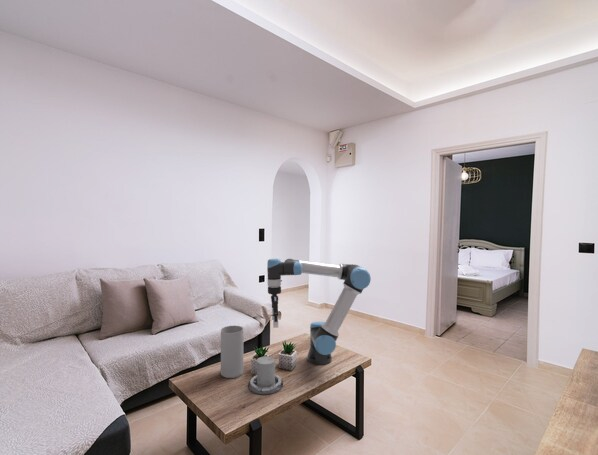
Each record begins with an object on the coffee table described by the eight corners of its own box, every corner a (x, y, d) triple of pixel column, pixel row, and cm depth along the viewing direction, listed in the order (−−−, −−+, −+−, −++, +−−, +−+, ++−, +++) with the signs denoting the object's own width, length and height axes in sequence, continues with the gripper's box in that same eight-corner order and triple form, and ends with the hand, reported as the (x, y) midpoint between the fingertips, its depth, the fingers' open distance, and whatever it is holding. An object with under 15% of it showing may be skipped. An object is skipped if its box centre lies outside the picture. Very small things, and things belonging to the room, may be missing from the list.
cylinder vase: (230, 381, 169) (230, 334, 169) (216, 374, 177) (216, 329, 176) (248, 372, 179) (248, 328, 179) (233, 366, 187) (233, 324, 186)
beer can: (273, 388, 160) (273, 364, 160) (254, 387, 161) (254, 363, 161) (276, 379, 169) (276, 356, 169) (259, 378, 171) (259, 355, 170)
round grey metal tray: (282, 376, 175) (282, 371, 175) (283, 393, 157) (283, 388, 157) (249, 377, 173) (249, 373, 173) (247, 395, 155) (247, 390, 155)
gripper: (282, 290, 167) (283, 330, 168) (279, 281, 192) (280, 316, 192) (268, 291, 166) (269, 331, 167) (267, 282, 191) (267, 317, 191)
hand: (275, 323), depth 179 cm, fingers open, 13 cm apart
